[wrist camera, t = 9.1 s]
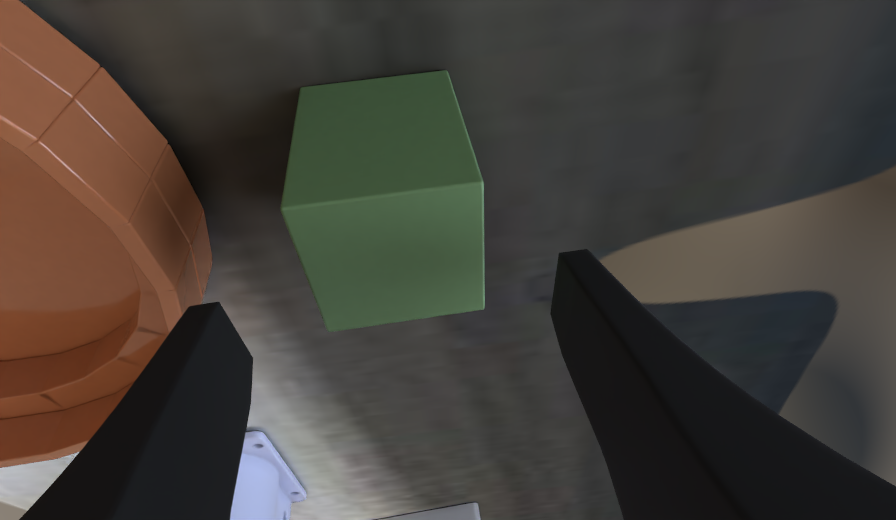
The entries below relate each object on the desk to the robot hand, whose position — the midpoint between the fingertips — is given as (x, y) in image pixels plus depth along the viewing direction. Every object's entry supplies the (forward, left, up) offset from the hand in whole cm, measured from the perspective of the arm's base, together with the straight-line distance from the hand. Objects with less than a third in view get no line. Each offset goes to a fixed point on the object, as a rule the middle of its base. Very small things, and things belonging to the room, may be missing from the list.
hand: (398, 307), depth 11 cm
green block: (0, 0, -7) cm, 7 cm away
